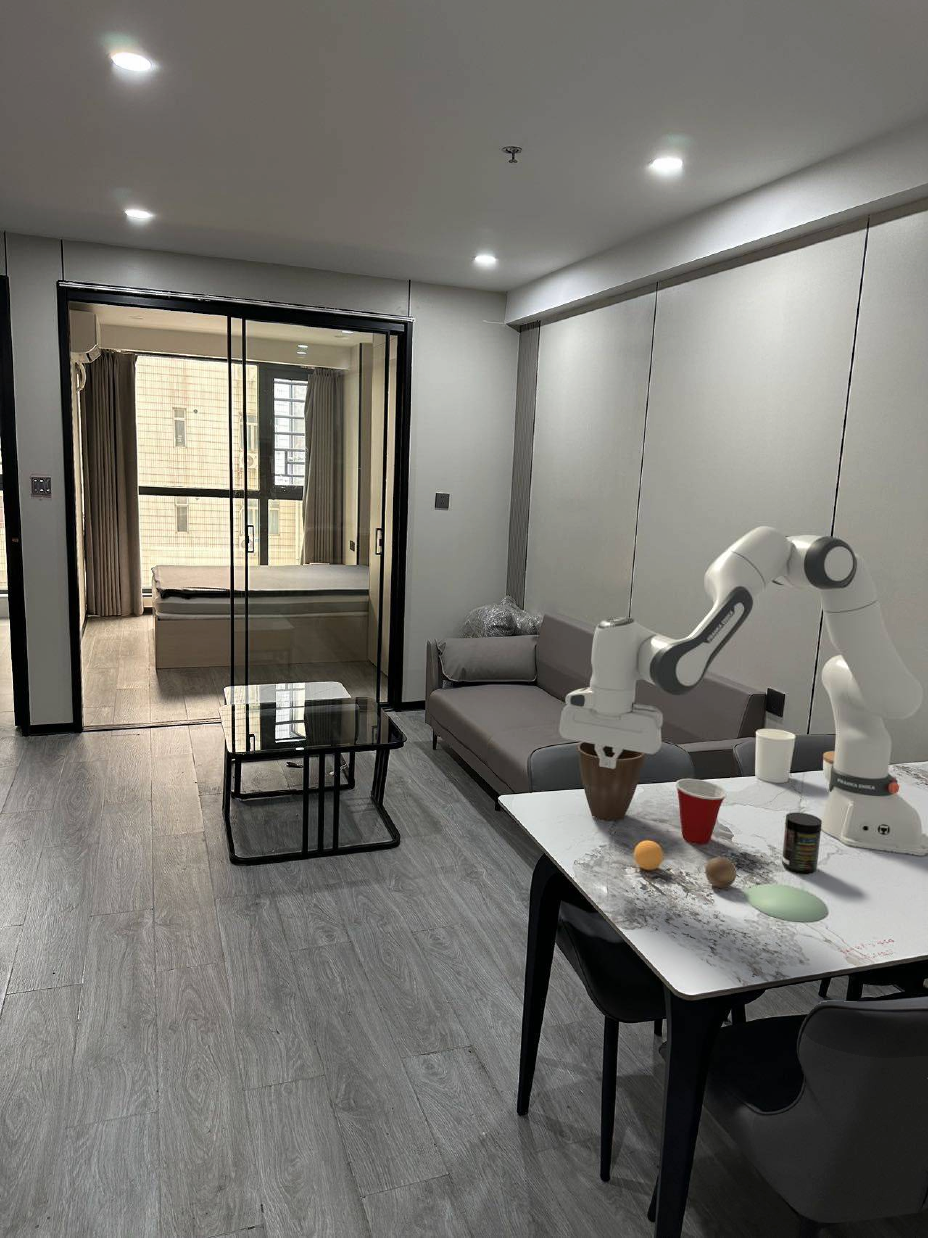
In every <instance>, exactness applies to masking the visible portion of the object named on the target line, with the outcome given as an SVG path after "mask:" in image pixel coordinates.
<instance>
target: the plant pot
mask: <svg viewBox="0 0 928 1238" xmlns="http://www.w3.org/2000/svg"><path fill="white" fill-rule="evenodd" d="M577 749H578V757H579V758H578V760H579V767H580V768H579V769H580V775H581V781H582V785H583V790H584V794H585V797H586V800H587V801H586V802H587V805H588V808H589V810H590V814H591V816H592V817H593V816H594V817H595V818H594V817H593V818H594V819H596V818H597V819H596V820H598V819H600V820H599V821H602V820H603V821H602V822H608V821H614V822H619V821H621V820H623V819H624V818H625V816H626V814H627V812H628V809H629V807H630V806H631V803H632V801H633V799H634V798H633V797H634V795H635V792H636V790H637V786H638V783H639V779H640V776H641V773H642V769H643V765H644V759H645V754H646V753H642V752H636V751H631V750H625V749H623V751H622V752H621V754H620V755H619V756H618V758H617V759H616V767H615V768H614V769H612V768H607V767H601V766H599V762H600V758H599V757H598V755H597V753H596V751H595V744H592V743H587V742H580V743H579V744H578V748H577ZM603 751H604V753H605V756H606V757H611V758H612V757H613V756H614V754H615V753H614V752H613V747H609V746H605V747H604V748H603Z"/></svg>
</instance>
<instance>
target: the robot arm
mask: <svg viewBox="0 0 928 1238" xmlns="http://www.w3.org/2000/svg"><path fill="white" fill-rule="evenodd" d="M703 581H704V582H703V585H704V589H705V593H706V594H707V597H708V598H709V599H710V601H711V602H712V604H713V606H712V608H711V609H710V611H709V612H708V614H706V616H705V617H704V618H703V620H702V621H701V622H700V623H699V624H698V625H697V627H696V628H695V629H694V630H693V631H692V632H691V634H689V635H688V636H687V637H684V638H679V639H675V638H672V637H668V636H666V635H662V634H660V633H657V632H655V631H652V630H650V629H648V628H646V627H644V626H643V625H642V624H639V622H637V620H635V619H634V618H633V617H629V616H613V617H609V618H606V619H603V620H601V621H600V622H598V624H597V626H596V628H595V630H594V634H593V639H592V647H591V657H590V659H591V661H590V664H591V668H592V674H591V678H590V681H589V687H584V688H579V689H575V690H573V691H571V692H569V693H568V694H566V696H565V699H564V700H565V706H564V707H563V709H562V712H561V714H560V715H561V716H560V720H559V728H558V729H559V732H558V733H559V735H560V736H561V738H562V739H566V740H570V741H576V742H580V743H582V742H587V743H592V744H595V751H596V753H597V755H598V757H599V758H600V762H599V766H601V767H607V768H612V769H614V768H615V767H616V759H617V758H618V756H619V755H620V754H621V752H622V751H623V749H625V750H631V751H636V752H642V753H645V754H648V755H654V754H656V753H657V752H658V751H659V750H660V749H661V747H662V731H661V730H662V729H661V728H662V726H663V722H664V714H663V713H662V711H661V710H660V709H659V708H657V707H656V706H655V705H647V704H643V703H638V702H635V697H636V684H637V681H640V680H644V681H646V682H648V683H650V684H652V685H655V686H656V687H658V688H660V689H661V690H662V691H665V692H666V693H668V694H670V695H673V696H682V695H687V694H689V693H692V692H693V691H694V690H695V689H697V687H698V686H700V684H701V683H702V682H703V679H704V677H705V676H706V674H707V672H708V670H709V668H710V666H711V664H712V663H713V661H714V659H715V658H716V657H717V656H718V655H719V654H720V652H721V651H722V649H724V647H725V646H726V644H728V642H729V641H730V640H731V639H732V637H734V635H735V634H736V633H737V631H739V629H740V627H741V626H742V625H743V624H744V622H745V621H746V620H747V618H748V617H749V615H750V614H751V612H752V610H753V607H754V606H753V605H754V601H755V600H756V599H757V598H758V597H759V596H760V595H761V593H762V592H763V591H765V589H767V587H769V585H771V583H773V584H775V585H778V586H787V587H791V588H795V589H796V588H797V589H816V590H817V591H818V593H819V599H820V603H821V604H820V605H821V608H822V612H823V616H824V620H825V621H824V622H825V625H826V629H827V633H828V636H829V640H830V642H831V644H832V646H833V647H834V648H835V650H837V651H838V653H839V655H834V656H833V657H831V658H830V659H829V660H828V661H827V662H826V663H824V664H825V665H824V666H823V668H822V670H821V683H822V685H823V687H824V689H825V690H826V692H827V694H828V697H829V701H830V703H831V708H832V712H833V717H834V718H833V719H834V724H835V725H834V726H835V741H834V742H835V745H834V751H835V755H834V765H832V767H831V770H830V776H829V782H828V791H829V794H828V797H827V803H826V806H825V808H824V811H823V814H822V816H821V818H820V819H821V820H822V827H821V831H823V832H825V833H827V834H828V835H830V836H832V837H834V838H836V839H837V840H839V841H841V842H842V843H843V844H845V845H847V846H850V845H851V847H856V846H858V847H857V848H865V849H870V848H871V849H872V850H878V851H884V850H886V852H891V851H893V852H892V853H900V854H905V853H909V854H908V855H912V854H914V856H920V857H921V856H926V855H927V854H926V853H928V833H927V832H925V831H924V830H923V825H922V821H921V817H920V814H919V813H918V811H917V810H916V809H915V808H914V807H913V806H912V805H911V804H909V802H907V801H906V800H905V799H904V798H903V797H902V796H900V794H898V792H899V791H900V785H899V784H898V779H897V777H896V775H894V776H893V775H891V774H890V773H889V770H890V769H889V768H890V761H891V759H890V758H891V751H892V739H891V737H890V734H889V732H888V731H887V729H886V728H885V724H884V721H883V719H882V718H884V719H892V720H904V719H907V718H909V717H911V716H913V715H914V714H915V713H916V712H917V711H918V710H919V708H920V706H921V704H922V702H923V696H924V695H923V694H924V692H923V688H922V686H921V683H920V681H918V679H917V678H916V677H915V676H914V675H913V674H912V673H911V671H909V670H908V668H907V667H906V665H905V663H904V662H903V660H902V659H901V657H900V655H899V653H898V651H897V650H896V648H895V646H894V644H893V642H892V640H891V638H890V635H889V633H888V631H887V628H886V625H885V622H884V621H885V620H884V617H883V614H882V609H881V605H880V601H879V597H878V593H877V589H876V586H875V582H874V580H873V577H872V575H871V572H870V570H869V568H868V565H867V563H866V561H865V559H864V558H863V557H862V556H861V555H860V554H858V553H855V552H854V550H853V548H852V547H851V546H850V544H848V543H847V542H845V541H844V540H842V539H840V538H838V537H834V536H830V535H829V536H828V535H827V536H825V535H824V536H822V535H814V534H801V535H792V536H791V535H790V536H789V535H785V534H784V533H782V531H780V530H779V529H777V528H776V527H772V526H767V525H761V526H758V527H756V528H754V529H752V530H750V531H749V532H747V533H746V534H744V535H743V536H741V537H740V538H739V539H737V540H736V541H735V542H733V544H730V546H729V547H727V548H726V550H724V551H723V552H722V553H721V554H720V555H719V556H718V557H717V558H716V559H715V560H714V561H713V562H712V563H711V564H710V565H709V567H708V569H707V570H706V572H705V573H704V579H703ZM605 746H609V747H613V752H614V753H615V754H614V756H613V757H612V758H611V757H606V756H605V753H604V751H603V748H604V747H605ZM852 845H854V846H852ZM925 854H926V855H925Z"/></svg>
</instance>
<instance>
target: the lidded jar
mask: <svg viewBox="0 0 928 1238" xmlns="http://www.w3.org/2000/svg"><path fill="white" fill-rule="evenodd" d="M834 755H835V750H831V751H826V752H824V753H823V754H822V757H823V758H822V759H823V760H822V761H823V762H822V771H823V775H824V777H825V779H826V780H827V781H828V783H829V776H830V770H831V767H832V765H834Z"/></svg>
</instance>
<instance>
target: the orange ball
mask: <svg viewBox="0 0 928 1238" xmlns="http://www.w3.org/2000/svg"><path fill="white" fill-rule="evenodd" d="M633 858H634V860H635V863H636V864H637V865H638V866H639V867H640V868H641V869H643V870H646V871H652V870H656V869H657V868H659V867H660V866H661V864H662V863H663V860H664V859H663V858H664V852H663V850H662V848H661V846H660V844H658V843H657V842H655V841H652V840H648V839H647V840H643V841H641V842H639V843H638V844H637V845H636V846H635V848H634V851H633Z"/></svg>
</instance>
